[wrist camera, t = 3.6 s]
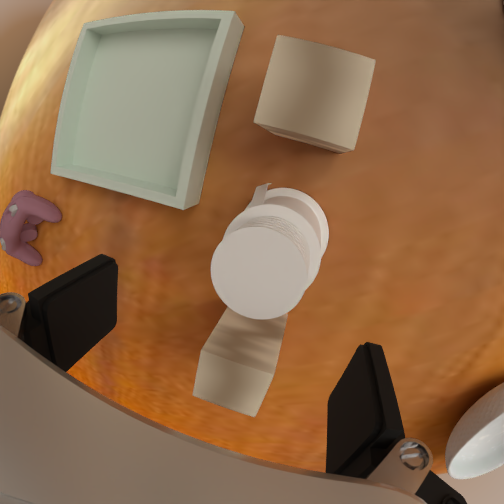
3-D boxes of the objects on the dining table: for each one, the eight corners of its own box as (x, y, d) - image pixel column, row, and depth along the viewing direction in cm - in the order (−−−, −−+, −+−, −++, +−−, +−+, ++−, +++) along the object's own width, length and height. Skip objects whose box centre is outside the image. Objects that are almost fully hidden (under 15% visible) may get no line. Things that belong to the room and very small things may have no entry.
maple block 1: (288, 314, 25) (274, 374, 18) (272, 355, 27) (254, 417, 19) (233, 296, 26) (201, 349, 18) (223, 339, 27) (192, 395, 20)
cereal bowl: (554, 356, 19) (576, 385, 13) (495, 438, 25) (506, 469, 18) (481, 354, 22) (506, 396, 15) (416, 446, 27) (422, 486, 21)
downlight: (339, 268, 23) (349, 333, 13) (258, 287, 25) (219, 355, 15) (312, 170, 21) (305, 168, 12) (227, 197, 23) (165, 215, 14)
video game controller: (60, 190, 28) (10, 180, 22) (65, 218, 27) (10, 210, 21) (37, 242, 32) (-6, 238, 26) (41, 269, 30) (-4, 267, 24)
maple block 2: (355, 93, 18) (375, 60, 11) (340, 153, 20) (353, 150, 13) (291, 75, 19) (277, 34, 11) (275, 135, 21) (253, 122, 13)
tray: (244, 26, 18) (234, 11, 15) (198, 203, 23) (183, 209, 21) (102, 30, 20) (84, 23, 17) (70, 170, 25) (50, 173, 23)
